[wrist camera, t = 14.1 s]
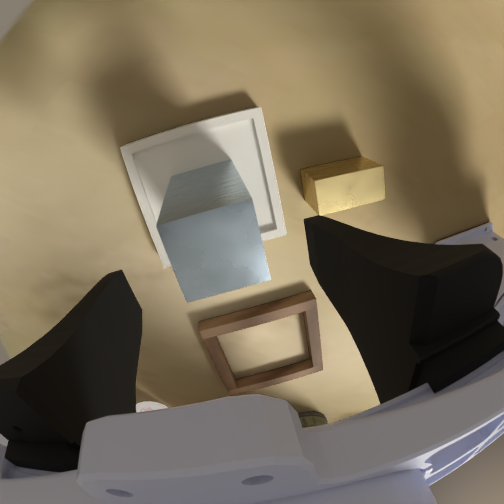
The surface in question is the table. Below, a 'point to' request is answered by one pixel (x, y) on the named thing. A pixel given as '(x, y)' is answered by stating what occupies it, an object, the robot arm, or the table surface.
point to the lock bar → (343, 184)
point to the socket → (256, 317)
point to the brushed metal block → (211, 232)
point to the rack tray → (203, 154)
